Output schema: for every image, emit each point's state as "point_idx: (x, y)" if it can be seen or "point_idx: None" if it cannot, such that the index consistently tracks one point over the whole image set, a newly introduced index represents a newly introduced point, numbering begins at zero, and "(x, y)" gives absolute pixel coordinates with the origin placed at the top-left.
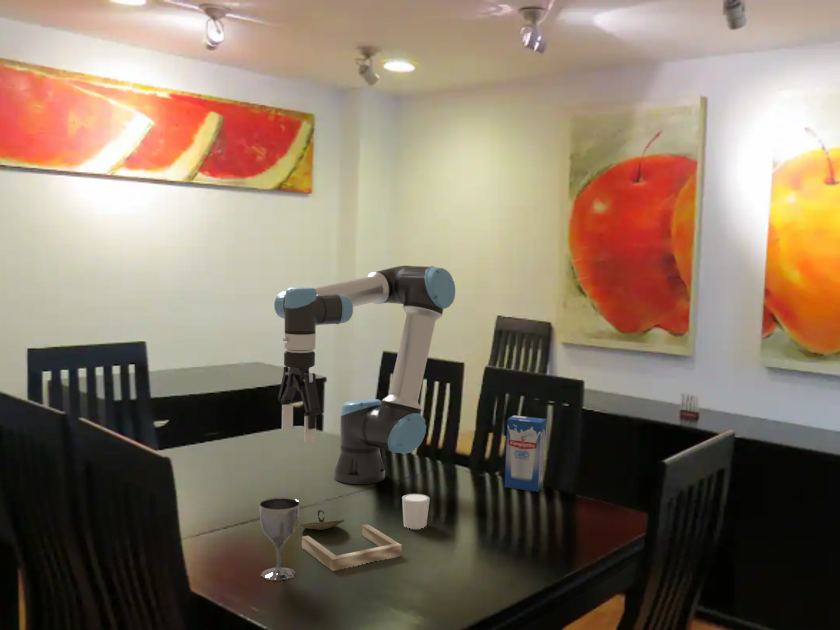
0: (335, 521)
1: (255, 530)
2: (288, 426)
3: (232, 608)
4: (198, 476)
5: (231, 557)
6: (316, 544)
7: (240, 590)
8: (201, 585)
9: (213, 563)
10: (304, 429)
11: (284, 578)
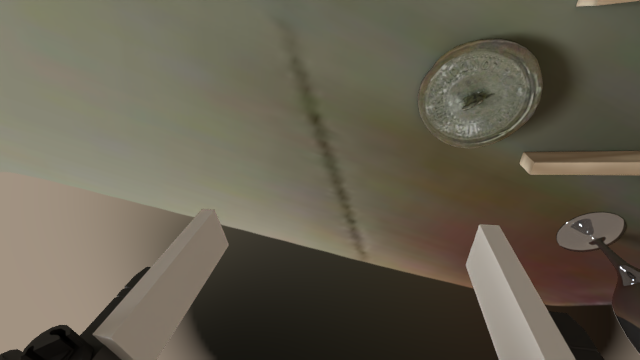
0: (542, 88)
1: (386, 193)
2: (211, 237)
3: None
4: (100, 176)
5: None
6: (596, 169)
7: (587, 280)
8: None
9: None
10: (491, 328)
11: (618, 235)
